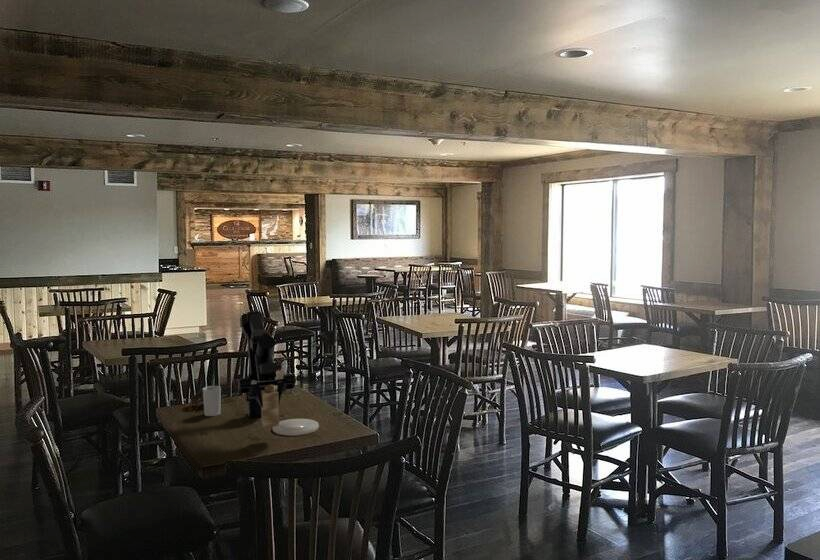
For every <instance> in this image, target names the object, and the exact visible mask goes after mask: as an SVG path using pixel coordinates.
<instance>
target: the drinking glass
mask: <svg viewBox="0 0 820 560" xmlns="http://www.w3.org/2000/svg"><path fill="white" fill-rule="evenodd" d="M202 389H203V399H202V400H203V412H204V416H205V417H215V416H220V415H221V409H222V408H221V405H222V402H221V401H222V400H221V399H222V395H221V393H222V387H221V386H220V385H219V386H218V385H209V386H205V387H203V388H202Z"/></svg>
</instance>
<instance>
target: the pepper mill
mask: <svg viewBox="0 0 820 560" xmlns="http://www.w3.org/2000/svg"><path fill="white" fill-rule="evenodd" d="M261 398H262V403H263V407H261V417H260V418H261V419H260V421H261V422H260V423H261V425H262V427H263V428H268V427H269V428H270V427H272V428H273V426H279V422H280V412H279V411H280V409H279V408H280V403H279V398H278V392H277V388H275V386H274V385H265V390H262V391H261Z"/></svg>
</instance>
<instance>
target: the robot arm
mask: <svg viewBox="0 0 820 560" xmlns="http://www.w3.org/2000/svg"><path fill="white" fill-rule="evenodd" d="M264 320H265V319H264V314H263V313H262V311H259V310H257V311H255V310H253V311H248V312H246V313H245V314H242V315H241V316H240V319H239V326H240V328H241V330H242V331H241V332H242V334H243V335H244V336H245V337H246V341H247V350H248V351H247V352H248V364H249V365H248V366H249V376H248V377H243V378H242V377H241V378H239V379H238V382H237V383H238V384H237V385H238V386H237V391H238V394H240V395H241V394H244V400H245V402H247V412H246V414H247V416H248V418H249V419H252V418H253V419H254V418H261V407H263V403H262V398H261V391H262V390H265V385H274V387H275V386H276V390H277V392H278V398H279V404H280V402H281V397H282V394H283V393H284V392H286V390H287V391H288V390H294V389H295V387H296V383H297V376H296V375H295V374H294V373H290V374H288V373H287V374H283V375H282V376H283V377H282V378H278V379H276V378H277V372H278V371H279V372H280V371H281V370H282V368H283V367H282V361H281V360H275V361H273V356H274V353H275V346H277V341H276V339H275V338H274V337H273V336H271V334H270V332H269V331H267V330H266V329H265V327H264V324H265V322H264Z"/></svg>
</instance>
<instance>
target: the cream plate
mask: <svg viewBox="0 0 820 560" xmlns="http://www.w3.org/2000/svg"><path fill="white" fill-rule="evenodd" d="M318 428H320V425H319V422H318V421H316V420H313V419H309V418H290V419H283V420H279V426H272V432H273V433H275V434H276V435H281V436H287V437H288V436H290V437H291V436H292V437H293V436H294V437H295V436H304V435H308V434H309V435H310V434H312V432H313V433H315V432H316V430H317V431H318V430H319V429H318Z"/></svg>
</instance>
